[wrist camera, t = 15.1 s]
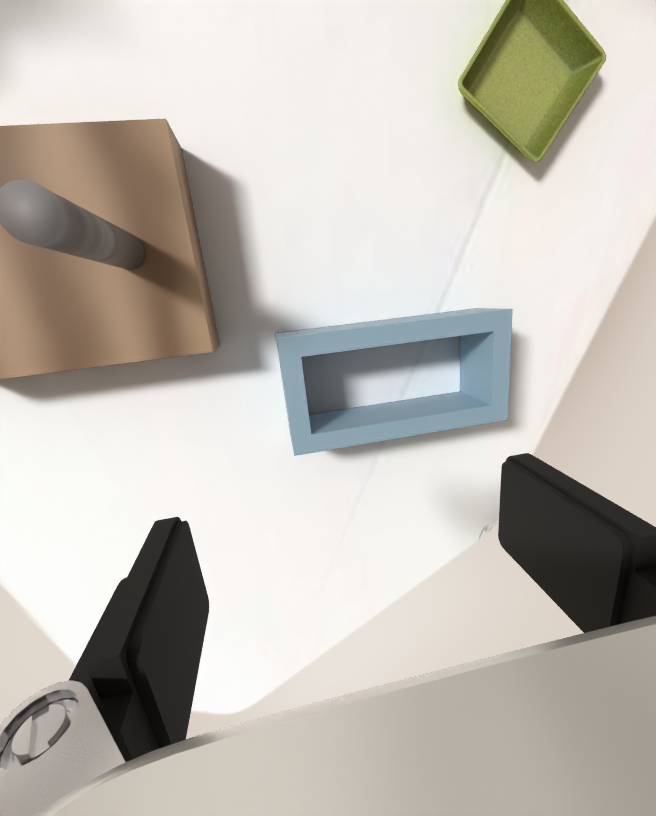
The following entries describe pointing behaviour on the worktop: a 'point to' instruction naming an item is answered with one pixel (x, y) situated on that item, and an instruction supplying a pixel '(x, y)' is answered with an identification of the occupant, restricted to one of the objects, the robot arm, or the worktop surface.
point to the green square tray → (531, 72)
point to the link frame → (473, 405)
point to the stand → (98, 248)
